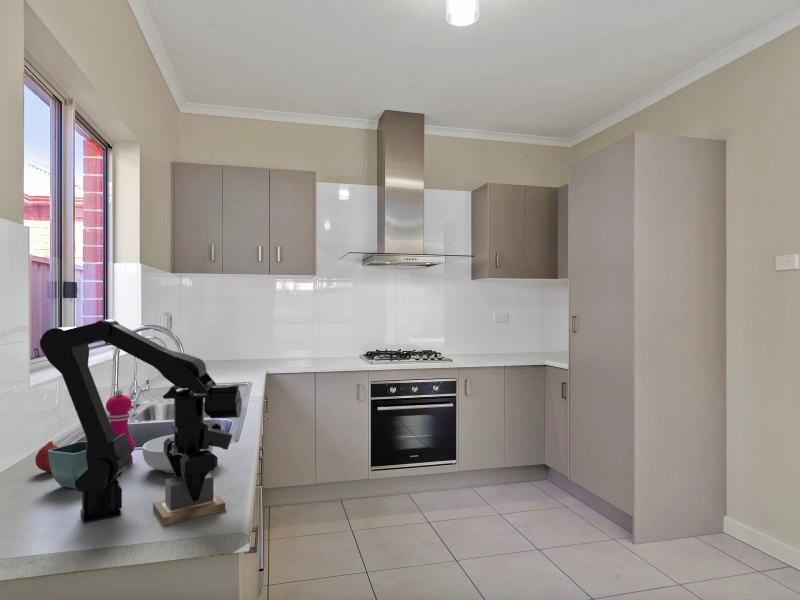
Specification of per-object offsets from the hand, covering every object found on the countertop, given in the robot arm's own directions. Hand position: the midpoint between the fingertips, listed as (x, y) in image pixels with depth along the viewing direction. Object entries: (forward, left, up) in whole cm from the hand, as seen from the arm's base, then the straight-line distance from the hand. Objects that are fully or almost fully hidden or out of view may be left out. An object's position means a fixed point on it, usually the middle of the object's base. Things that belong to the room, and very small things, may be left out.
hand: (189, 493), depth 106 cm
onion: (-22, +45, -4) cm, 50 cm away
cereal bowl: (+5, +29, -4) cm, 30 cm away
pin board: (0, 0, -3) cm, 3 cm away
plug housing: (0, 0, -2) cm, 2 cm away
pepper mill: (-7, +41, -4) cm, 42 cm away
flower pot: (-17, +31, -4) cm, 36 cm away
